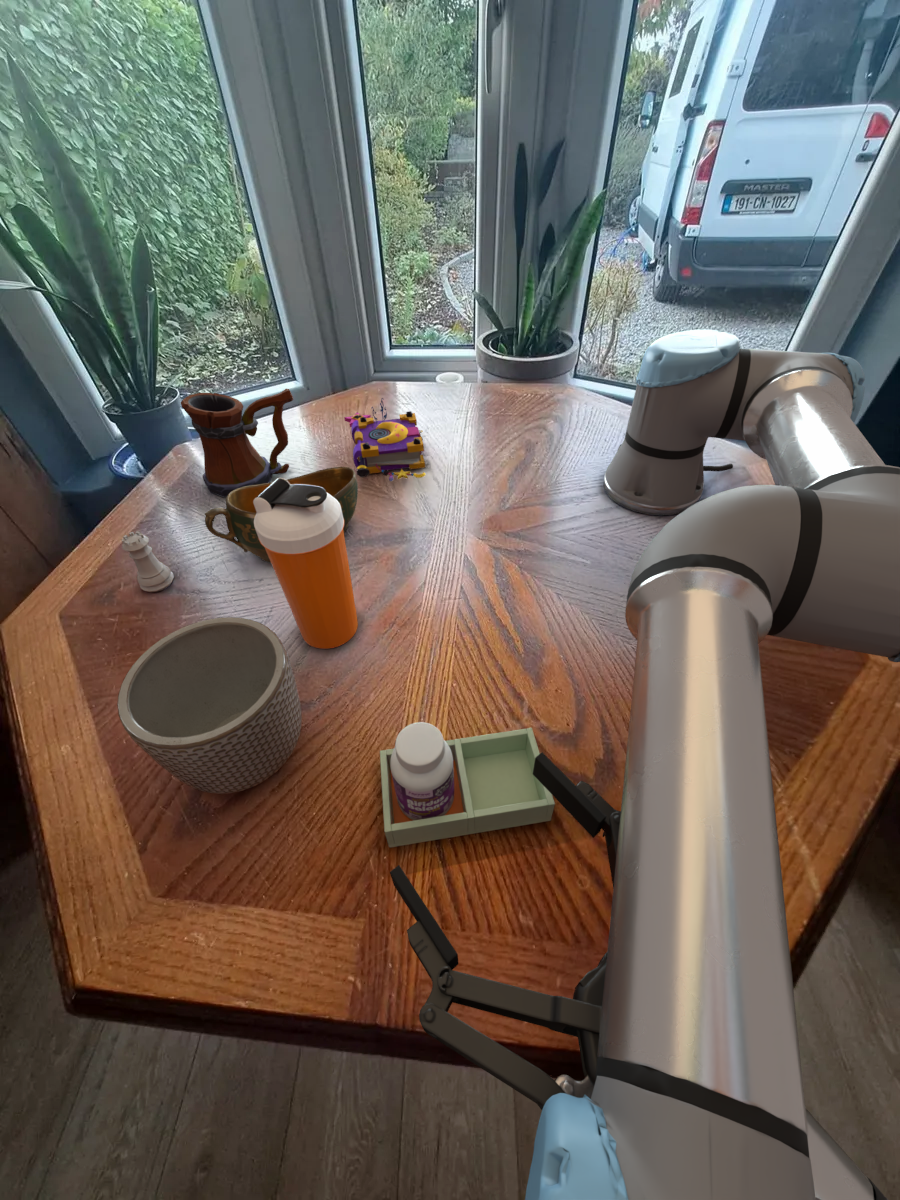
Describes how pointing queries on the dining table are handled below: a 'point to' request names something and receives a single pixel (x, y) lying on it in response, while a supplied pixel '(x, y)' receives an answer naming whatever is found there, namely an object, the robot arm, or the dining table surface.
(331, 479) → the creamer
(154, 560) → the rook chess piece
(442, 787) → the pill bottle
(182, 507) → the dining table surface
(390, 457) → the book
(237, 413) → the mug
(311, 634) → the shaker bottle
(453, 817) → the tray
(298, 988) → the dining table surface
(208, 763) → the planter
